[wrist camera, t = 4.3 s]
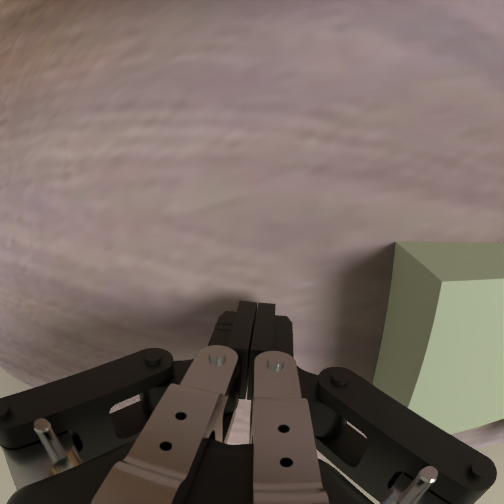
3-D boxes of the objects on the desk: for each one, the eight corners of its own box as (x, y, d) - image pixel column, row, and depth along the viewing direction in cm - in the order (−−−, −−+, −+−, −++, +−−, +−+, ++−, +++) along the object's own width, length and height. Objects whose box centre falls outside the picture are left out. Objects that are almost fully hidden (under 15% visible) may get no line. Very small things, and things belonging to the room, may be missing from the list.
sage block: (394, 240, 13) (442, 281, 9) (515, 242, 13) (573, 273, 8) (372, 379, 16) (392, 445, 11) (483, 364, 15) (518, 413, 10)
